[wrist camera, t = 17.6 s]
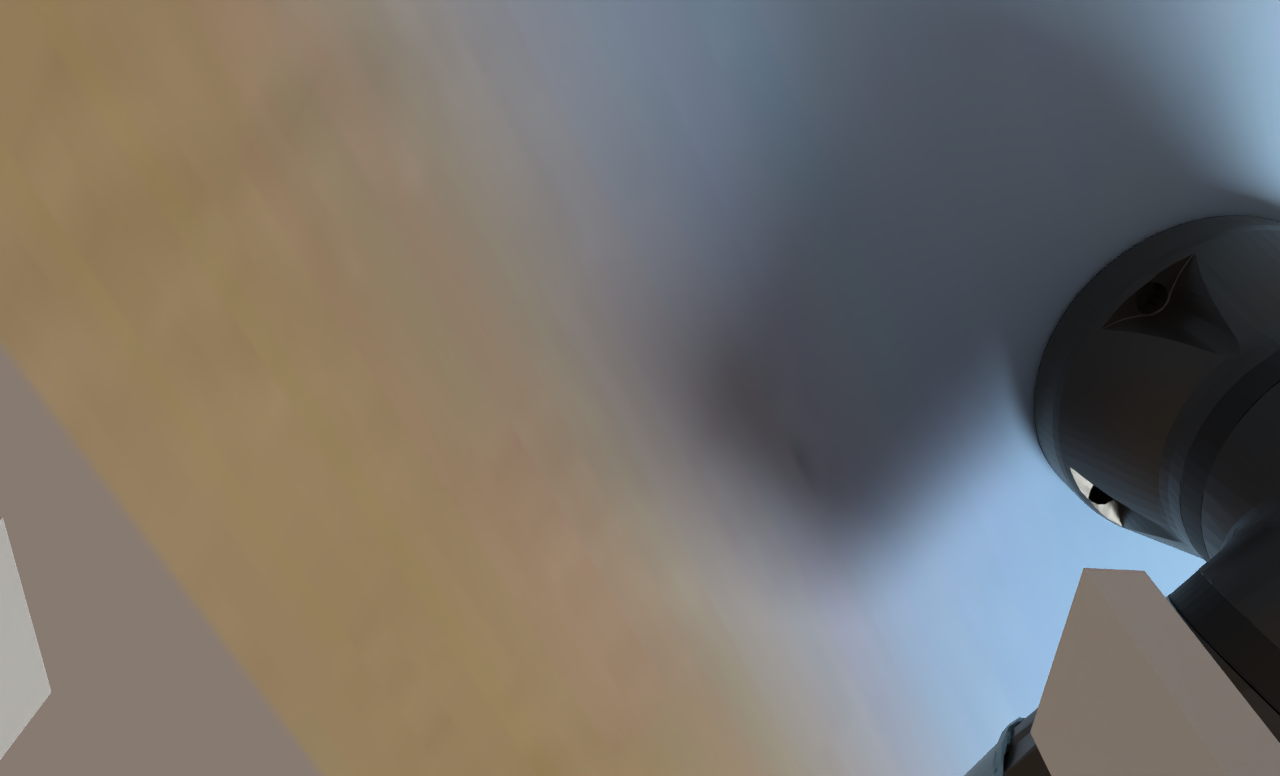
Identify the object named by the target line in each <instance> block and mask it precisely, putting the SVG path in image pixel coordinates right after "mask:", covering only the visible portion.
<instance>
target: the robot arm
mask: <svg viewBox="0 0 1280 776" xmlns="http://www.w3.org/2000/svg"><path fill="white" fill-rule="evenodd" d="M1034 415H1035V424H1036V430H1037V434H1038V438H1039V442H1040V444H1041V447H1042V450H1043V452H1044V454H1045V456H1046V458H1047V460H1048V462H1049V463H1050V465H1051V467H1052V468H1053V470H1054V471H1055V472H1056V474H1057V475H1058V476H1059V477H1060V478H1061V479H1062V481H1063V482H1064V483H1065V484H1066V485H1067V486H1068V487H1069V488H1070V489H1071V490H1072V491H1073V492H1074V493H1075V494H1076V495H1077V496H1078V497H1079V498H1080V499H1081V500H1082V501H1083V502H1084V503H1085V504H1087V505H1088V506H1089V507H1090V508H1091V509H1093V510H1094V511H1095V512H1097V513H1098V514H1099V515H1101V516H1102V517H1104V518H1106V519H1107V520H1109V521H1111V522H1113V523H1115V524H1116V525H1118V526H1120V527H1123V528H1126V529H1128V530H1131V531H1133V532H1136V533H1138V534H1141V535H1143V536H1146V537H1149V538H1151V539H1154V540H1156V541H1159V542H1161V543H1164V544H1166V545H1169V546H1172V547H1174V548H1177V549H1179V550H1182V551H1184V552H1187V553H1189V554H1192V555H1195V556H1197V557H1200V558H1202V559H1204V560H1205V561H1206V562H1207V563H1205V564H1204V565H1203V566H1202V567H1201V568H1199V570H1198V571H1197V572H1196V573H1194V574H1193V575H1192V576H1191V577H1190V578H1189V579H1188V580H1186V581H1185V582H1184V583H1183V584H1182V585H1181V586H1179V587H1178V588H1177V589H1176V590H1175V591H1174V592H1173V593H1171V594H1169V595H1168V596H1167V597H1166V598H1165V596H1164V595H1163V594H1162V593H1161V591H1160V590H1159V589H1158V588H1157V586H1156V585H1155V584H1154V582H1153V581H1152V580H1151V579H1150V577H1149V576H1148V575H1147V574H1146V572H1145V571H1136V570H1115V569H1093V568H1084V569H1083V572H1082V575H1081V578H1080V581H1079V584H1078V587H1077V590H1076V593H1075V596H1074V599H1073V602H1072V606H1071V609H1070V612H1069V615H1068V618H1067V621H1066V624H1065V627H1064V630H1063V633H1062V636H1061V639H1060V642H1059V645H1058V648H1057V652H1056V655H1055V658H1054V661H1053V664H1052V667H1051V670H1050V673H1049V676H1048V679H1047V682H1046V685H1045V688H1044V691H1043V694H1042V698H1041V701H1040V704H1039V707H1038V708H1037V709H1036V710H1035V711H1033V712H1032V713H1031V714H1030V715H1029V716H1028V717H1026V718H1018V719H1016V720H1015V721H1013V722H1012V723H1010V724H1009V725H1008V726H1007V727H1006V728H1005V730H1004V731H1003V732H1002V734H1001V737H1000V739H999V741H998V743H997V744H996V745H995V746H994V747H993V748H992V749H991V750H990V751H989V752H988V753H987V754H986V755H985V756H984V757H983V758H982V759H981V760H980V761H979V762H978V763H977V764H976V765H975V766H974V767H973V768H972V769H971V770H969V771H968V772H967V773H966V774H965V775H964V776H1280V222H1278V221H1274V220H1271V219H1266V218H1261V217H1253V216H1238V215H1235V216H1219V217H1211V218H1206V219H1200V220H1196V221H1192V222H1188V223H1185V224H1182V225H1179V226H1176V227H1173V228H1171V229H1168V230H1166V231H1163V232H1161V233H1159V234H1157V235H1154V236H1152V237H1150V238H1148V239H1146V240H1145V241H1143V242H1141V243H1139V244H1138V245H1136V246H1134V247H1133V248H1131V249H1130V250H1128V251H1127V252H1125V253H1124V254H1122V255H1121V256H1120V257H1118V258H1117V259H1115V260H1114V261H1113V262H1112V263H1110V264H1109V265H1108V266H1107V267H1106V268H1104V269H1103V270H1102V271H1101V272H1100V273H1099V274H1098V275H1097V276H1096V277H1095V278H1093V279H1092V280H1091V281H1090V283H1089V284H1088V285H1087V286H1086V287H1085V288H1084V289H1083V290H1082V291H1081V292H1080V294H1079V295H1078V296H1077V297H1076V298H1075V300H1074V301H1073V302H1072V304H1071V305H1070V306H1069V308H1068V309H1067V310H1066V312H1065V313H1064V315H1063V317H1062V318H1061V320H1060V321H1059V323H1058V325H1057V327H1056V328H1055V330H1054V332H1053V334H1052V336H1051V338H1050V340H1049V342H1048V344H1047V347H1046V349H1045V352H1044V355H1043V358H1042V361H1041V364H1040V367H1039V371H1038V375H1037V380H1036V386H1035V396H1034ZM50 693H51V689H50V685H49V682H48V678H47V675H46V671H45V667H44V664H43V660H42V657H41V653H40V649H39V646H38V642H37V639H36V635H35V632H34V628H33V624H32V621H31V617H30V614H29V610H28V606H27V603H26V599H25V596H24V592H23V588H22V585H21V581H20V578H19V574H18V570H17V567H16V563H15V560H14V556H13V553H12V549H11V545H10V542H9V538H8V535H7V531H6V527H5V524H4V520H3V517H0V759H1V758H2V757H3V755H4V754H5V753H6V751H7V750H8V749H9V747H10V746H11V745H12V744H13V742H14V741H15V739H16V738H17V737H18V735H19V734H20V733H21V732H22V730H23V729H24V728H25V726H26V725H27V724H28V722H29V721H30V720H31V718H32V717H33V715H34V714H35V713H36V712H37V710H38V709H39V708H40V706H41V705H42V704H43V702H44V701H45V700H46V699H47V697H48V696H49V694H50Z"/></svg>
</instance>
